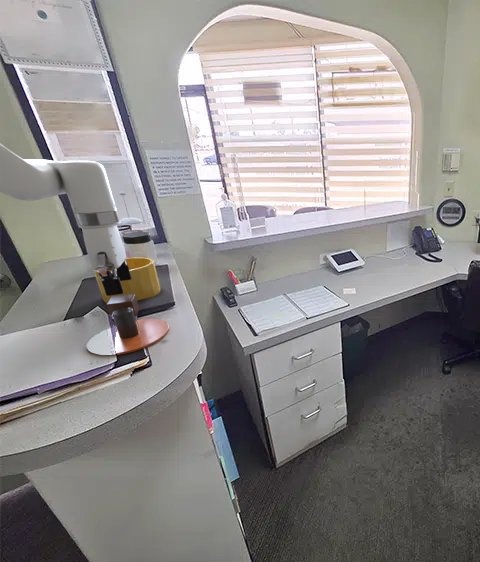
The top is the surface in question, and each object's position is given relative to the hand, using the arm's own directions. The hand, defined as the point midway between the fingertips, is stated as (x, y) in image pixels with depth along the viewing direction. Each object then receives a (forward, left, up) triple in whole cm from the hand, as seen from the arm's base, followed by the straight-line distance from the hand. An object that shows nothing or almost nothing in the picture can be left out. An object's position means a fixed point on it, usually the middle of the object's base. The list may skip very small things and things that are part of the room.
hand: (120, 286), depth 77 cm
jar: (-2, +43, -8) cm, 44 cm away
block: (0, 0, -8) cm, 8 cm away
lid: (+3, -13, -8) cm, 15 cm away
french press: (-7, +59, -8) cm, 60 cm away
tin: (-1, +15, -8) cm, 17 cm away
